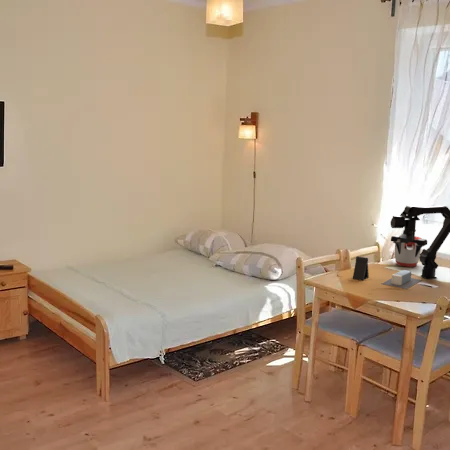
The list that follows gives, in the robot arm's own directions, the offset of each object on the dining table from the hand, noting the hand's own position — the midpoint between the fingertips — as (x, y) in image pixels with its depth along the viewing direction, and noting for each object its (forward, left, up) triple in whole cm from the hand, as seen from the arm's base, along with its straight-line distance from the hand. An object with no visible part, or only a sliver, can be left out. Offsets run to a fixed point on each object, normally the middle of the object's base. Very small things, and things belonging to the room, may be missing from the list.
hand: (407, 255), depth 305 cm
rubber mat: (+8, +7, -13) cm, 17 cm away
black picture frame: (+25, -7, -13) cm, 29 cm away
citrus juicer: (-18, -24, -13) cm, 33 cm away
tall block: (+2, +3, -10) cm, 11 cm away
